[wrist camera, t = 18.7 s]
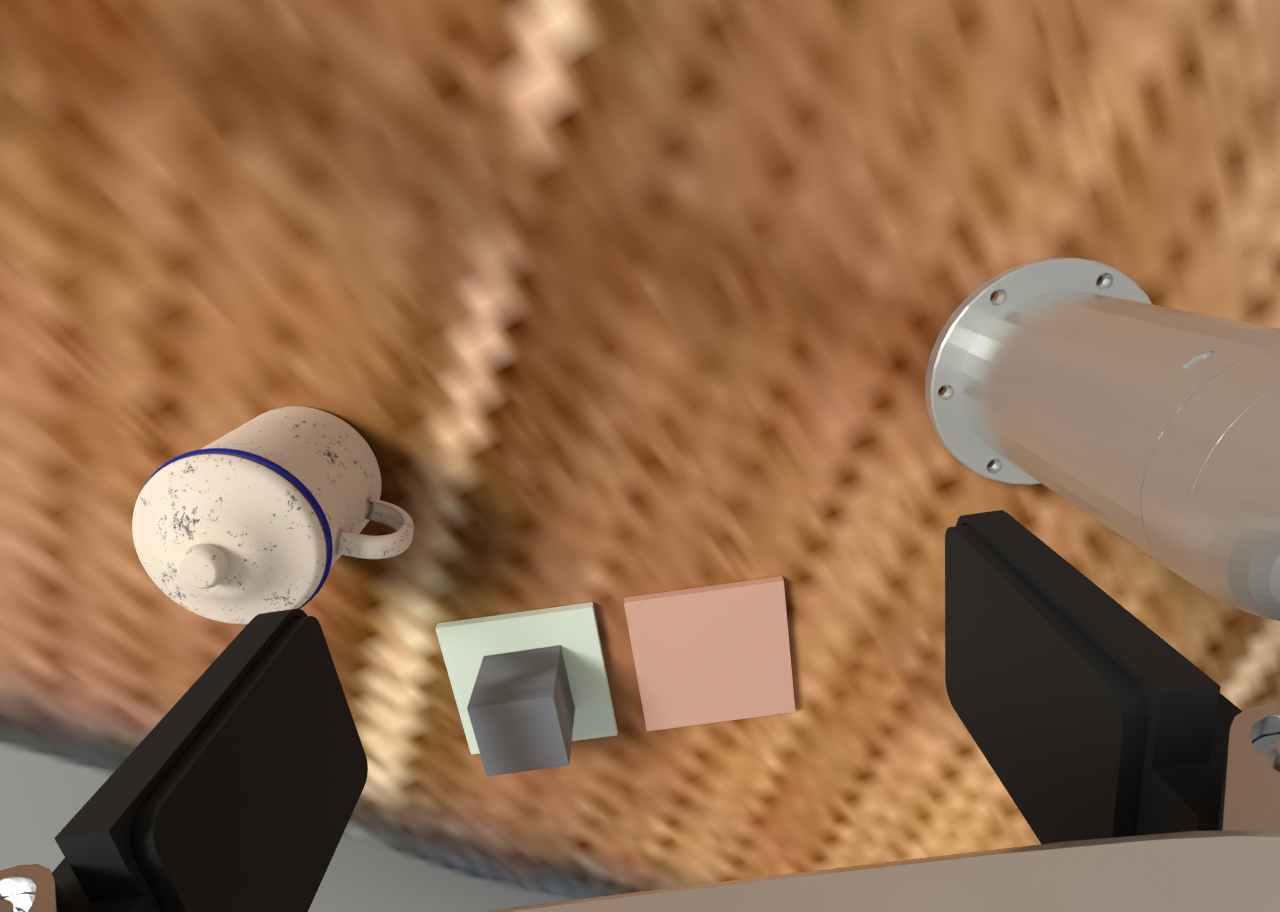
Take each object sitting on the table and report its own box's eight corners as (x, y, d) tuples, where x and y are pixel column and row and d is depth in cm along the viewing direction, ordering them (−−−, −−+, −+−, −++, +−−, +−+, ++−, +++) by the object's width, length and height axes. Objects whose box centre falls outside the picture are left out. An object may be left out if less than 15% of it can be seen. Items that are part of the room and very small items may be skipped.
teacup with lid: (227, 528, 43) (89, 640, 32) (233, 384, 40) (83, 453, 29) (426, 566, 44) (359, 687, 33) (446, 429, 41) (380, 512, 30)
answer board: (781, 576, 44) (783, 580, 44) (793, 705, 48) (795, 711, 47) (437, 623, 45) (435, 628, 45) (473, 748, 49) (471, 754, 48)
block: (560, 644, 45) (552, 696, 40) (575, 708, 47) (569, 765, 42) (483, 656, 45) (466, 708, 41) (500, 719, 47) (486, 776, 42)
